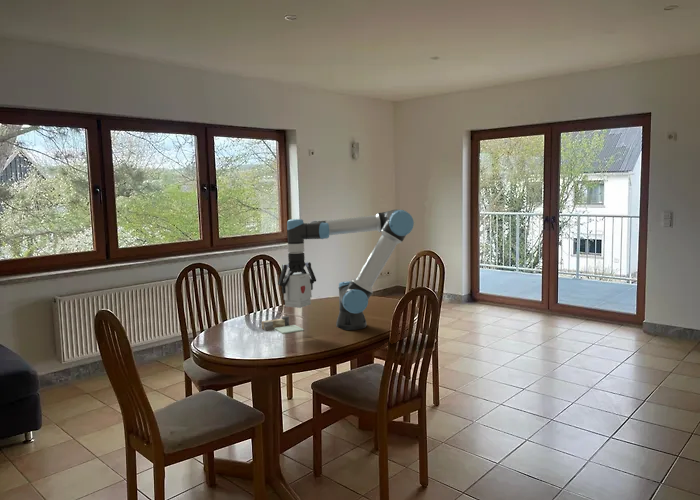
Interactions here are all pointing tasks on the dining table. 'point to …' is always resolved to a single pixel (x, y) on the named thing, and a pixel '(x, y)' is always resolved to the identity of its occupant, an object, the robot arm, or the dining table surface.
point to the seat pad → (288, 329)
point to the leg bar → (278, 322)
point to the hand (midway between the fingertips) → (297, 298)
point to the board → (268, 325)
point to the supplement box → (298, 290)
